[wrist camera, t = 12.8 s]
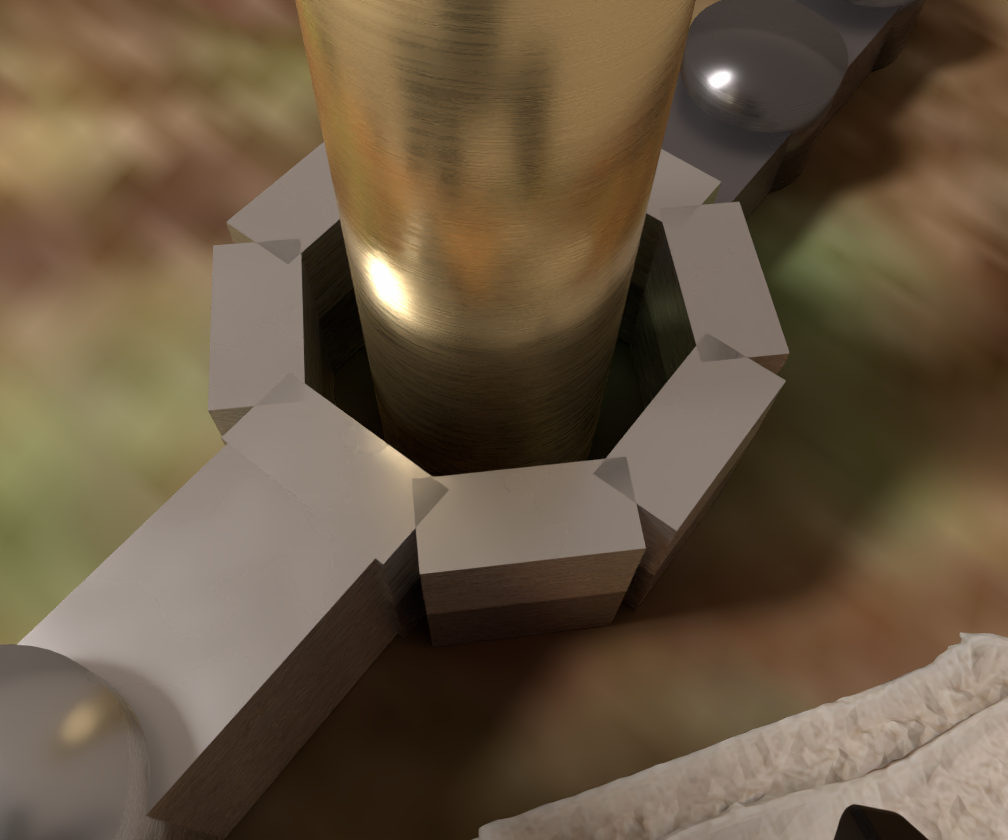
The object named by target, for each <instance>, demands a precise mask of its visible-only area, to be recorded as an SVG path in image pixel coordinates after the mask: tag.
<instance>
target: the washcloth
mask: <svg viewBox="0 0 1008 840" xmlns="http://www.w3.org/2000/svg"><path fill="white" fill-rule="evenodd" d="M960 638H961V639H962V640H961V643H960V644H956V645H951V646H949V647H948V649H947V650H946V651H945V652H944V653H942V654H941V655H939V656H938V657H937V658H936V659H935V660H934V662H933V663H931V664H929V665H927V666H925V667H923V668H920V669H916V670H914V671H912V672H909V673H907V674H904V675H902V676H900V677H898V678H896V679H894V680H891V681H889V682H887V683H884V684H882V685H879V686H876V687H873V688H871V689H868V690H866V691H863V692H861V693H858V694H855V695H852V696H848V697H842V698H840V699H838V700H837V701H835V702H833V703H825V704H823V705H821V706H819V707H817V708H814V709H811V710H808V711H804V712H802V713H799V714H796V715H793V716H789V717H786V718H784V719H783V720H780V721H777V722H774V723H771V724H768V725H765V726H762V727H758V728H755V729H752V730H750V731H748V732H746V733H744V734H740V735H736V736H733V737H731V738H729V739H727V740H724V741H721V742H719V743H716V744H714V745H712V746H710V747H707V748H704V749H701V750H698V751H695V752H693V753H691V754H688V755H685V756H682V757H679V758H676V759H673V760H671V761H668V762H666V763H662V764H658V765H655V766H653V767H651V768H648V769H646V770H643V771H640V772H638V773H636V774H633V775H631V776H628V777H623V778H619V779H617V780H614V781H612V782H610V783H607V784H605V785H602V786H599V787H596V788H593V789H590V790H587V791H584V792H582V793H580V794H578V795H575V796H571V797H568V798H565V799H562V800H559V801H556V802H552V803H548V804H544V805H542V806H539V807H537V808H534V809H532V810H529V811H527V812H525V813H522V814H520V815H517V816H514V817H511V818H507V819H500V820H495V821H492V822H490V823H488V824H485V825H483V826H482V827H480V828H479V837H477V838H475V839H472V840H834V836H835V833H836V830H837V827H838V823H839V820H840V817H841V815H842V813H843V812H844V810H845V809H846V808H847V807H848V806H850V805H852V804H858V805H863V806H868V807H874V808H879V809H884V810H889V811H894V812H896V813H898V814H900V815H901V816H903V817H904V818H905V819H906V820H907V821H909V822H910V823H911V824H912V825H913V826H914V827H915V828H916V829H918V830H919V831H920V832H921V833H922V834H923V835H924V836H925V837H926V838H928V839H929V840H1008V638H1007V637H1003V636H999V635H996V634H990V633H975V634H973V633H960Z"/></svg>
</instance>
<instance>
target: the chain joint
mask: <svg viewBox="0 0 1008 840" xmlns="http://www.w3.org/2000/svg"><path fill="white" fill-rule="evenodd" d="M925 1H926V0H721V1H719V2H716V3H714V4H712V5H710V6H709V7H707V8H705V9H704V10H703V11H702V12H701V13H699V14H698V16H697V17H696V18H695V19H694V21H693V22H692V24H691V26H690V29H689V32H688V36H687V40H686V45H685V49H684V53H683V58H682V62H681V66H680V70H679V75H678V79H677V83H676V88H675V92H674V96H673V101H672V105H671V109H670V113H669V118H668V122H667V126H666V131H665V135H664V139H663V143H662V148H661V152H660V156H659V161H658V165H657V169H656V173H655V178H654V182H653V186H652V191H651V195H650V199H649V204H648V208H647V212H646V216H645V221H644V225H643V229H642V234H641V238H640V242H639V246H638V251H637V255H636V259H635V264H634V268H633V272H632V276H631V281H630V285H629V289H628V294H627V298H626V302H625V307H624V311H623V315H622V319H621V324H620V328H619V332H618V337H617V338H618V339H620V340H622V341H623V342H625V343H626V344H628V345H629V346H630V349H631V353H632V357H633V361H634V366H635V370H636V374H637V379H638V383H639V387H640V391H641V396H642V400H643V404H644V409H645V410H644V411H643V413H642V414H641V415H640V416H639V418H638V419H637V420H636V421H635V423H634V424H633V425H632V426H631V428H630V429H629V430H628V431H627V433H626V434H625V435H624V436H623V438H622V439H621V440H620V441H619V443H618V444H617V445H616V446H615V447H614V449H613V450H612V451H611V452H610V454H609V455H608V456H607V457H606V459H598V460H589V461H580V462H570V463H561V464H551V465H542V466H533V467H523V468H514V469H504V470H495V471H486V472H476V473H467V474H457V475H448V476H439V477H432V476H431V475H429V474H428V473H427V472H425V471H424V470H423V469H421V468H420V467H418V466H417V465H416V464H414V463H413V462H412V461H410V460H409V459H407V458H406V457H405V456H403V455H402V454H401V453H399V452H398V451H397V450H395V449H394V448H392V447H391V446H390V445H388V444H387V443H386V442H384V441H383V440H381V439H380V438H379V437H377V436H376V435H375V434H373V433H372V432H371V431H369V430H368V429H366V428H365V427H364V426H362V425H361V424H360V423H358V422H357V421H355V420H354V419H353V418H351V417H350V416H349V415H347V414H346V413H345V412H343V411H342V410H340V409H339V408H338V407H336V406H335V385H334V374H335V373H336V372H337V371H338V370H339V369H340V368H341V367H342V366H343V365H344V364H345V363H346V362H347V361H348V360H349V359H350V358H351V357H352V356H353V355H354V354H355V353H356V352H357V351H358V350H359V349H360V348H361V347H362V346H363V345H364V344H365V340H364V335H363V330H362V325H361V320H360V315H359V311H358V306H357V301H356V296H355V291H354V286H353V281H352V276H351V271H350V266H349V261H348V256H347V252H346V247H345V242H344V237H343V232H342V227H341V222H340V217H339V212H338V207H337V202H336V197H335V192H334V188H333V183H332V178H331V173H330V168H329V163H328V158H327V153H326V148H325V143H324V142H323V143H322V144H321V145H320V146H318V147H317V148H316V149H315V150H314V151H312V152H311V153H310V154H309V155H307V156H306V157H305V158H304V159H303V160H301V161H300V162H299V163H298V164H297V165H295V166H294V167H293V168H292V169H290V170H289V171H288V172H287V173H286V174H284V175H283V176H282V177H281V178H279V179H278V180H277V181H276V182H275V183H273V184H272V185H271V186H270V187H269V188H267V189H266V190H265V191H264V192H262V193H261V194H260V195H259V196H258V197H256V198H255V199H254V200H253V201H251V202H250V203H249V204H248V205H247V206H245V207H244V208H243V209H242V210H241V211H239V212H238V213H237V214H236V215H234V216H233V217H232V218H231V219H230V220H228V221H227V222H226V223H227V226H228V228H229V231H230V234H231V236H232V239H233V242H234V244H227V245H215V246H213V275H212V306H211V337H210V368H209V399H208V411H209V413H210V415H211V417H212V419H213V420H214V422H215V424H216V426H217V428H218V430H219V432H220V433H221V435H222V437H221V438H222V440H223V442H224V444H225V447H223V448H222V449H221V450H220V451H219V452H218V453H217V454H216V455H215V456H214V457H213V458H212V459H211V460H210V461H209V462H208V463H207V464H206V465H205V466H204V467H203V468H201V469H200V470H199V471H198V472H197V473H196V474H195V475H194V476H193V477H192V478H191V479H190V480H189V481H188V482H187V483H186V484H185V485H184V486H183V487H182V488H181V489H179V490H178V491H177V492H176V493H175V494H174V495H173V496H172V497H171V498H170V499H169V500H168V501H167V502H166V503H165V504H164V505H163V506H162V507H161V508H160V509H158V510H157V511H156V512H155V513H154V514H153V515H152V516H151V517H150V518H149V519H148V520H147V521H146V522H145V523H144V524H143V525H142V526H141V527H140V528H139V529H138V530H136V531H135V532H134V533H133V534H132V535H131V536H130V537H129V538H128V539H127V540H126V541H125V542H124V543H123V544H122V545H121V546H120V547H119V548H118V549H117V550H116V551H114V552H113V553H112V554H111V555H110V556H109V557H108V558H107V559H106V560H105V561H104V562H103V563H102V564H101V565H100V566H99V567H98V568H97V569H96V570H95V571H94V572H92V573H91V574H90V575H89V576H88V577H87V578H86V579H85V580H84V581H83V582H82V583H81V584H80V585H79V586H78V587H77V588H76V589H75V590H74V591H73V592H72V593H70V594H69V595H68V596H67V597H66V598H65V599H64V600H63V601H62V602H61V603H60V604H59V605H58V606H57V607H56V608H55V609H54V610H53V611H52V612H51V613H50V614H48V615H47V616H46V617H45V618H44V619H43V620H42V621H41V622H40V623H39V624H38V625H37V626H36V627H35V628H34V629H33V630H32V631H31V632H30V633H29V634H28V635H26V636H25V637H24V638H23V639H22V640H21V641H20V642H19V643H18V644H17V645H15V644H9V645H0V840H225V838H226V837H227V836H228V835H229V834H230V832H231V831H232V830H233V829H234V828H235V826H236V825H237V824H238V823H239V822H240V821H241V819H242V818H243V817H244V816H245V815H246V813H247V812H248V811H249V810H250V809H251V807H252V806H253V805H254V804H255V803H256V802H257V800H258V799H259V798H260V797H261V796H262V794H263V793H264V792H265V791H266V790H267V788H268V787H269V786H270V785H271V784H272V782H273V781H274V780H275V779H276V778H277V777H278V775H279V774H280V773H281V772H282V771H283V769H284V768H285V767H286V766H287V765H288V763H289V762H290V761H291V760H292V759H293V758H294V756H295V755H296V754H297V753H298V752H299V750H300V749H301V748H302V747H303V746H304V744H305V743H306V742H307V741H308V740H309V739H310V737H311V736H312V735H313V734H314V733H315V731H316V730H317V729H318V728H319V727H320V725H321V724H322V723H323V722H324V721H325V720H326V718H327V717H328V716H329V715H330V714H331V712H332V711H333V710H334V709H335V708H336V706H337V705H338V704H339V703H340V702H341V700H342V699H343V698H344V697H345V696H346V695H347V693H348V692H349V691H350V690H351V689H352V687H353V686H354V685H355V684H356V683H357V681H358V680H359V679H360V678H361V677H362V676H363V674H364V673H365V672H366V671H367V670H368V668H369V667H370V666H371V665H372V664H373V662H374V661H375V660H376V659H377V658H378V657H379V655H380V654H381V653H382V652H383V651H384V649H385V648H386V647H387V646H388V645H389V643H390V642H391V641H392V640H393V639H394V638H395V636H396V635H397V634H399V635H400V636H401V637H402V638H403V639H404V638H405V637H406V636H407V634H408V633H409V632H410V631H411V630H412V628H413V627H414V626H415V625H416V624H417V623H418V621H419V620H420V619H421V618H422V617H423V615H424V614H425V613H426V612H427V618H428V623H429V629H430V635H431V640H432V646H433V647H435V646H444V645H452V644H460V643H468V642H476V641H485V640H493V639H501V638H509V637H517V636H526V635H534V634H542V633H550V632H558V631H567V630H575V629H583V628H591V627H599V626H608V625H611V624H612V622H613V619H614V617H615V615H616V613H617V611H618V608H619V606H620V604H621V602H622V601H623V602H624V603H625V604H627V605H628V606H630V607H631V608H632V609H634V610H635V611H636V609H637V608H638V607H639V605H640V604H641V603H642V601H643V600H644V598H645V597H646V596H647V594H648V593H649V591H650V590H651V589H652V587H653V586H654V584H655V583H656V582H657V580H658V579H659V577H660V576H661V575H662V573H663V572H664V570H665V569H666V568H667V566H668V565H669V564H670V562H671V561H672V559H673V558H674V557H675V555H676V554H677V552H678V551H679V550H680V548H681V547H682V545H683V544H684V543H685V541H686V540H687V538H688V537H689V536H690V534H691V533H692V531H693V530H694V529H695V527H696V526H697V525H698V523H699V522H700V520H701V519H702V518H703V516H704V515H705V513H706V512H707V511H708V509H709V508H710V506H711V505H712V504H713V502H714V501H715V499H716V498H717V497H718V495H719V494H720V492H721V491H722V490H723V488H724V487H725V486H726V484H727V482H728V481H729V479H730V477H731V475H732V474H733V472H734V470H735V468H736V467H737V465H738V463H739V462H740V460H741V458H742V456H743V455H744V453H745V451H746V449H747V448H748V446H749V444H750V442H751V441H752V439H753V437H754V435H755V434H756V432H757V430H758V428H759V427H760V425H761V423H762V422H763V420H764V418H765V416H766V415H767V413H768V411H769V409H770V408H771V406H772V404H773V402H774V401H775V399H776V397H777V395H778V394H779V392H780V390H781V389H782V387H783V385H784V383H785V382H786V381H785V380H784V379H782V378H781V377H779V376H777V375H778V374H779V372H780V370H781V368H782V366H783V365H784V363H785V361H786V359H787V357H788V356H789V354H790V353H789V350H788V347H787V344H786V341H785V338H784V335H783V332H782V329H781V326H780V323H779V320H778V317H777V314H776V310H775V307H774V304H773V301H772V298H771V295H770V292H769V289H768V286H767V283H766V280H765V277H764V274H763V271H762V268H761V265H760V262H759V259H758V256H757V253H756V250H755V247H754V244H753V241H752V238H751V235H750V232H749V229H748V226H747V223H746V219H747V218H748V217H749V216H750V214H751V213H752V212H753V211H754V210H755V209H756V207H757V206H758V205H759V204H760V203H761V201H762V200H763V199H764V198H765V197H766V195H767V194H768V193H769V192H773V191H776V190H778V189H781V188H783V187H785V186H786V185H788V184H790V183H791V182H792V181H794V180H795V179H796V178H797V177H798V176H799V175H800V173H801V172H802V170H803V169H804V167H805V164H806V162H807V160H808V158H809V155H810V153H811V151H812V148H813V146H814V144H815V142H816V139H817V137H818V135H819V132H820V131H821V130H822V129H823V128H824V127H825V125H826V124H827V123H828V122H829V121H830V119H831V118H832V117H833V116H834V115H835V113H836V112H837V111H838V110H839V109H840V108H841V106H842V105H843V104H844V103H845V102H846V100H847V99H848V98H849V97H850V96H851V94H852V93H853V92H854V91H855V90H856V89H857V87H858V86H859V85H860V84H861V83H862V81H863V80H864V79H865V78H866V77H867V75H868V74H869V73H870V72H871V71H874V70H877V69H880V68H882V67H884V66H886V65H888V64H890V63H891V62H892V61H894V60H895V59H896V58H897V57H898V55H899V54H900V52H901V50H902V48H903V46H904V44H905V42H906V40H907V38H908V36H909V34H910V32H911V30H912V28H913V26H914V24H915V22H916V20H917V18H918V16H919V14H920V11H921V9H922V7H923V5H924V3H925Z"/></svg>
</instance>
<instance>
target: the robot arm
mask: <svg viewBox="0 0 1008 840" xmlns="http://www.w3.org/2000/svg"><path fill="white" fill-rule="evenodd" d="M834 840H929V839H928V838H926V837H925V836H924V835H923V834H922V833H921V832H920V831H919V830H918V829H916V828H915V827H914V826H913V825H912V824H911V823H910V822H909V821H907V820H906V819H905V818H904V817H903V816H901V815H900V814H898V813H896V812H894V811H889V810H884V809H879V808H874V807H868V806H863V805H858V804H852V805H850V806H848V807H847V808H846V809H845V810H844V812H843V813H842V815H841V817H840V820H839V823H838V827H837V830H836V833H835V836H834Z"/></svg>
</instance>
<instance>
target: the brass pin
mask: <svg viewBox="0 0 1008 840" xmlns="http://www.w3.org/2000/svg"><path fill="white" fill-rule="evenodd" d="M695 2H696V0H296V5H297V10H298V15H299V20H300V25H301V30H302V35H303V40H304V45H305V50H306V55H307V60H308V64H309V69H310V74H311V79H312V84H313V89H314V94H315V99H316V104H317V109H318V114H319V119H320V124H321V128H322V133H323V138H324V143H325V148H326V153H327V158H328V163H329V168H330V173H331V178H332V183H333V188H334V192H335V197H336V202H337V207H338V212H339V217H340V222H341V227H342V232H343V237H344V242H345V247H346V252H347V256H348V261H349V266H350V271H351V276H352V281H353V286H354V291H355V296H356V301H357V306H358V311H359V315H360V320H361V325H362V330H363V335H364V340H365V345H366V350H367V355H368V360H369V365H370V370H371V375H372V379H373V384H374V389H375V394H376V399H377V404H378V409H379V414H380V419H381V424H382V429H383V434H384V439H385V442H386V443H387V444H388V445H390V446H391V447H392V448H394V449H395V450H397V451H398V452H399V453H401V454H402V455H403V456H405V457H406V458H407V459H409V460H410V461H412V462H413V463H414V464H416V465H417V466H418V467H420V468H421V469H423V470H424V471H425V472H427V473H428V474H429V475H431V476H432V477H439V476H448V475H457V474H467V473H476V472H486V471H495V470H504V469H514V468H523V467H533V466H542V465H551V464H561V463H570V462H580V461H586V459H587V457H588V455H589V453H590V450H591V447H592V444H593V440H594V435H595V431H596V427H597V422H598V418H599V414H600V410H601V405H602V401H603V397H604V392H605V388H606V384H607V379H608V375H609V371H610V367H611V362H612V358H613V354H614V349H615V345H616V341H617V337H618V332H619V328H620V324H621V319H622V315H623V311H624V307H625V302H626V298H627V294H628V289H629V285H630V281H631V276H632V272H633V268H634V264H635V259H636V255H637V251H638V246H639V242H640V238H641V234H642V229H643V225H644V221H645V216H646V212H647V208H648V204H649V199H650V195H651V191H652V186H653V182H654V178H655V173H656V169H657V165H658V161H659V156H660V152H661V148H662V143H663V139H664V135H665V131H666V126H667V122H668V118H669V113H670V109H671V105H672V101H673V96H674V92H675V88H676V83H677V79H678V75H679V70H680V66H681V62H682V58H683V53H684V49H685V45H686V40H687V36H688V32H689V28H690V23H691V19H692V15H693V10H694V6H695Z"/></svg>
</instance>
